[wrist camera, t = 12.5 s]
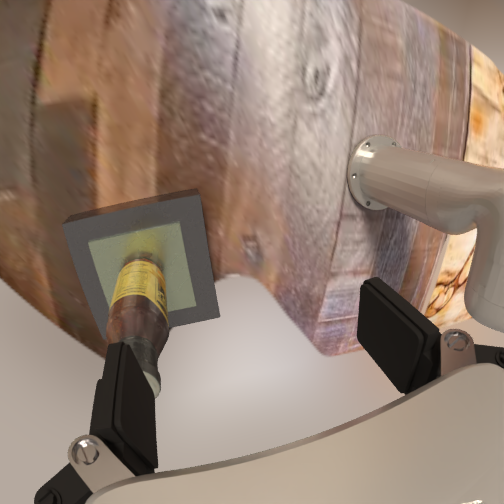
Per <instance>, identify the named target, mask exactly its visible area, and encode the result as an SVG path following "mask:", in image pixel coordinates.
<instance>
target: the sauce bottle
mask: <svg viewBox="0 0 504 504" xmlns="http://www.w3.org/2000/svg"><path fill="white" fill-rule="evenodd" d="M108 316H109V317H108V322H107V326H106V338H107V341H108V344H111V343H117V342H124V343H125V345H127V344H129V345H130V347H131V348H132V351H133V353H134V355H135V357H136V359H137V361H138V363H139V365H140V367H141V369H142V371H143V373H144V375H145V376H146V378H147V380H148V382H149V384H150V386H151V388H152V390H153V392H154V396H155V398H156V397H157V396H158V395H159V393H160V390H161V378H160V374H159V372H158V367H157V361H158V358H159V355H160V353H161V352H162V350H163V348H164V345H165V344H166V342H167V340H168V337H169V324H168V310H167V297H166V282H165V278H164V275H163V273H162V270H161V269H160V268H159V267H158V266H157V265H156V264H155V263H153V262H151V261H150V260H147V259H135V260H132V261H129V262H128V263H126V264H125V266H124V267H123V269H122V270H121V271H120V273H119V275H118V278H117V282H116V286H115V290H114V293H113V297H112V301H111V305H110V309H109V313H108Z"/></svg>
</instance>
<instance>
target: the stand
mask: <svg viewBox="0 0 504 504" xmlns="http://www.w3.org/2000/svg"><path fill="white" fill-rule="evenodd" d="M62 226H63V229H64V233H65V236H66V240H67V243H68V247H69V250H70V253H71V256H72V259H73V262H74V265H75V268H76V271H77V274H78V277H79V280H80V283H81V285H82V288H83V291H84V294H85V296H86V299H87V301H88V304H89V306H90V309H91V311H92V314H93V316H94V319H95V321H96V323H97V326H98V328H99V330H100V333H101V335H102V337H103V339H107V338H106V326H107V322H108V317H109V316H108V313H109V309H110V305H111V301H112V297H113V293H114V290H115V286H116V282H117V278H118V275H119V273H120V271H121V270H122V269H123V267H124V266H125V264H126V263H128V262H129V261H132V260H135V259H147V260H150V261H151V262H153V263H155V264H156V265H157V266H158V267H159V268H160V269H161V270H162V273H163V275H164V278H165V282H166V297H167V310H168V324H169V328H171V327H176V326H181V325H186V324H190V323H195V322H200V321H205V320H209V319H214V318H218V317H220V313H219V307H218V302H217V296H216V291H215V285H214V279H213V273H212V268H211V262H210V256H209V250H208V243H207V237H206V231H205V224H204V218H203V211H202V205H201V198H200V193H199V192H198V190H197V188H196V189H191V190H185V191H180V192H174V193H169V194H164V195H159V196H154V197H149V198H144V199H139V200H135V201H130V202H125V203H121V204H116V205H112V206H108V207H103V208H99V209H95V210H91V211H87V212H83V213H79V214H75V215H71V216H70V217H69V218H68V219H67V220H66V221H65V222H64V223H63V224H62Z"/></svg>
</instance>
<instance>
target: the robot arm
mask: <svg viewBox="0 0 504 504" xmlns="http://www.w3.org/2000/svg"><path fill="white" fill-rule="evenodd" d="M347 178H348V185H349V188H350V191H351V193H352V195H353V197H354V198H355V200H356V201H357V202H358V203H359V204H361V205H362V206H364V207H366V208H368V209H371V210H383V209H386V208H388V207H389V208H391V209H394V210H396V211H398V212H400V213H402V214H405V215H407V216H409V217H411V218H413V219H416V220H418V221H420V222H422V223H424V224H426V225H428V226H430V227H432V228H434V229H437V230H439V231H441V232H443V233H446V234H450V235H460V234H464V233H466V232H469V231H471V230H473V229H475V228H477V238H476V245H475V250H474V254H473V259H472V263H471V267H470V271H469V275H468V279H467V283H466V287H465V293H464V302H465V306H466V309H467V311H468V313H469V314H470V315H471V316H472V317H473V318H474V319H475V320H476V321H478V322H479V323H481V324H482V325H484V326H487V327H489V328H491V329H494V330H497V331H500V332H503V333H504V169H502V168H495V167H488V166H483V165H478V164H473V163H469V162H465V161H461V160H457V159H452V158H448V157H443V156H439V155H434V154H430V153H425V152H420V151H415V150H410V149H405V148H402V147H401V146H400V144H399V143H398V142H397V141H396V140H394V139H393V138H391V137H388V136H384V135H373V136H369V137H367V138H365V139H364V140H362V141H361V142H360V143H359V144H358V145H357V147H356V148H355V149H354V151H353V153H352V155H351V157H350V160H349V164H348V171H347ZM357 338H358V341H359V343H360V344H361V345H362V346H363V347H364V349H365V350H366V351H367V352H368V353H369V355H370V356H371V357H372V358H373V360H374V361H375V362H376V363H377V365H378V366H379V367H380V368H381V369H382V371H383V372H384V373H385V374H386V376H387V377H388V378H389V380H390V381H391V382H392V383H393V385H394V386H395V387H396V388H397V390H398V391H399V392H400V393H404V394H405V396H403V397H401V398H399V399H397V400H395V401H393V402H391V403H389V404H387V405H385V406H383V407H381V408H379V409H376V410H374V411H372V412H370V413H368V414H365V415H363V416H361V417H359V418H356V419H354V420H352V421H349V422H347V423H344V424H342V425H340V426H337V427H334V428H332V429H329V430H327V431H324V432H321V433H319V434H316V435H313V436H310V437H307V438H305V439H301V440H298V441H295V442H292V443H289V444H286V445H283V446H279V447H276V448H273V449H269V450H266V451H262V452H258V453H255V454H251V455H247V456H243V457H239V458H235V459H230V460H226V461H221V462H217V463H211V464H206V465H201V466H195V467H190V468H185V469H178V470H171V471H164V472H158V473H155V472H154V469H155V468H158V456H157V444H156V443H157V441H156V423H155V422H156V421H155V396H154V392H153V390H152V388H151V386H150V384H149V382H148V380H147V378H146V376H145V375H144V373H143V371H142V369H141V367H140V365H139V363H138V361H137V359H136V357H135V355H134V353H133V351H132V348H131V347H130V345H129V344H127V345H125V343H124V342H117V343H111V344H109V345H108V350H107V355H106V360H105V366H104V371H103V377H102V379H99V380H98V382H97V386H96V391H95V398H94V404H93V410H92V418H91V426H90V433H89V435H83V436H80V437H78V438H76V439H75V440H74V441H73V442H72V443H71V445H70V447H69V449H68V459H69V461H70V463H69V464H68V465H66V466H65V467H64V468H63V469H62V470H61V471H59V472H58V473H57V474H56V475H55V476H54V477H53V478H51V480H49V481H48V482H47V483H46V484H44V485H43V486H42V487H41V488H40V489H39V490H38V491H37V493H36V495H35V498H34V504H504V348H503V347H494V346H485V345H477V344H474V342H473V339H472V337H471V336H470V335H469V334H468V333H467V332H465V331H462V330H460V329H449V330H447V331H445V332H444V333H443V334H441V333H440V332H439V328H438V327H436V326H435V325H434V324H433V323H432V322H431V321H430V320H428V319H427V318H426V317H425V316H424V315H423V314H422V313H420V312H419V311H418V310H417V309H416V308H415V307H413V306H412V305H411V304H410V303H409V302H408V301H406V300H405V299H404V298H403V297H402V296H400V295H399V294H398V293H397V292H396V291H394V290H393V289H392V288H391V287H390V286H388V285H387V284H386V283H385V282H384V281H382V280H381V279H380V278H378V277H374V278H371V279H368V280H365V281H364V282H363V285H361V287H360V301H359V315H358V327H357Z"/></svg>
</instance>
